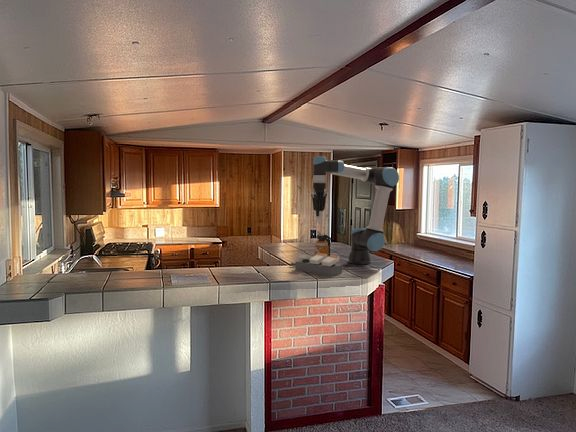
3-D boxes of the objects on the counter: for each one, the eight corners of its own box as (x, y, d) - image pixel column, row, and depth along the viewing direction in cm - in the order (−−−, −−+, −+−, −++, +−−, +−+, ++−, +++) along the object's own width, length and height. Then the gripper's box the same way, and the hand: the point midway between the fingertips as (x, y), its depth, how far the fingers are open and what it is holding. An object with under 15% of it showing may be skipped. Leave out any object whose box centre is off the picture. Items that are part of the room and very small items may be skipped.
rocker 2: (319, 256, 276) (318, 252, 275) (327, 258, 272) (326, 253, 271) (309, 263, 269) (309, 258, 268) (317, 264, 265) (317, 260, 264)
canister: (312, 264, 291) (312, 234, 289) (326, 263, 296) (327, 233, 294) (318, 267, 283) (319, 235, 281) (333, 265, 288) (334, 235, 286)
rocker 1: (307, 259, 281) (308, 254, 282) (315, 260, 277) (315, 255, 278) (297, 257, 274) (298, 252, 274) (305, 258, 270) (306, 254, 270)
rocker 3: (331, 258, 270) (330, 254, 269) (339, 260, 266) (339, 255, 265) (321, 265, 263) (321, 260, 262) (330, 266, 259) (329, 262, 258)
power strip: (296, 265, 289) (296, 255, 288) (341, 273, 266) (342, 263, 265) (285, 267, 280) (285, 258, 280) (331, 276, 258) (331, 266, 257)
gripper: (321, 182, 273) (320, 220, 275) (307, 182, 263) (307, 222, 265) (331, 182, 268) (330, 221, 270) (317, 182, 258) (317, 223, 260)
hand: (318, 221), depth 268 cm, fingers closed
